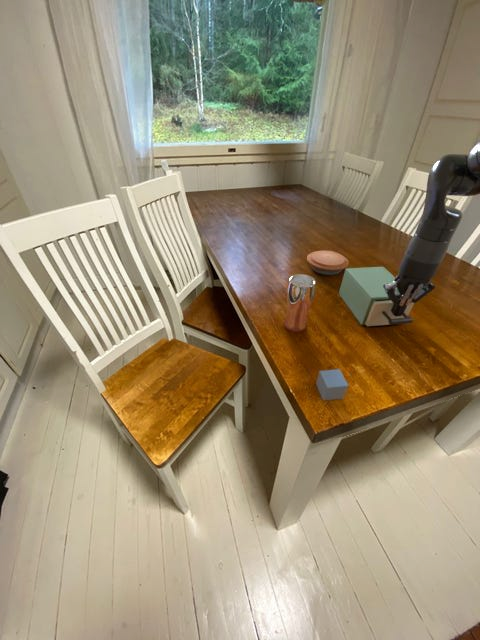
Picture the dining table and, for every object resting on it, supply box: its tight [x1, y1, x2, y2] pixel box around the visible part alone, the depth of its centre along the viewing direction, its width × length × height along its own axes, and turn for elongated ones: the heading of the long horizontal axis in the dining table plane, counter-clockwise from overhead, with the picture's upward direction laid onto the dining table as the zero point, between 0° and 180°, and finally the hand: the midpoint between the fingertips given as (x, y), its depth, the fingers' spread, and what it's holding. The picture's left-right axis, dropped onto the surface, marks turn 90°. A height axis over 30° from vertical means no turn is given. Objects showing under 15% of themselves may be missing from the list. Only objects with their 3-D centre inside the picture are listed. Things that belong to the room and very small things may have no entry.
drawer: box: [365, 298, 415, 327], centre depth 80 cm, size 20×11×8 cm, turn 7°
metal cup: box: [284, 273, 317, 333], centre depth 74 cm, size 7×7×15 cm
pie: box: [306, 250, 349, 276], centre depth 105 cm, size 15×16×5 cm
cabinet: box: [338, 266, 397, 326], centre depth 83 cm, size 17×13×10 cm
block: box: [315, 368, 349, 402], centre depth 60 cm, size 5×5×5 cm
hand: (396, 314), depth 73 cm, fingers closed
